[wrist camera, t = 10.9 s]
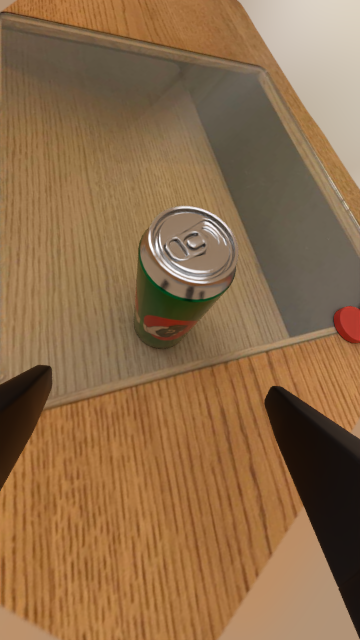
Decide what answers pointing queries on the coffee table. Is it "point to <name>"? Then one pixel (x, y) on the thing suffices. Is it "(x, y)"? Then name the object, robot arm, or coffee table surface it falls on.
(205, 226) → the soda can
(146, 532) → the coffee table surface
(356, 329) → the spoon
